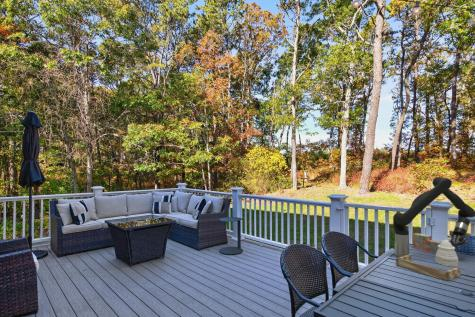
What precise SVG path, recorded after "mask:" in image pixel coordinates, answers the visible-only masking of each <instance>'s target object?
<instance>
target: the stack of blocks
mask: <svg viewBox="0 0 475 317" xmlns="http://www.w3.org/2000/svg"><path fill="white" fill-rule="evenodd" d="M411 235H412V237H411V238H412V239H411V240H412V241H411V242H412V248H413V249H416V250H419V251H423V252H427V251H428V252H427V253H431V252H432V254H434V253H436V252H437V250H438V248H439V247H438V245H440V244H441V242H442V241H439V240H434V239H432V235H430V234H429V235H428V234H423V233H419V232H415V233H411Z"/></svg>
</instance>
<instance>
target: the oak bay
mask: <svg viewBox="0 0 475 317" xmlns="http://www.w3.org/2000/svg"><path fill="white" fill-rule="evenodd" d="M395 262H396V266H397V267H399V268H403V269H407V270H410V271H413V272H416V273H421V274H423V275H427V276H430V277H432V278H436V279H440V280H443V281H446V282H449V281H451V280H454V279H456V278H458V277H461V267H459V266H455V267H454V268H451V269H449V270H443V269H439V268H435V267H431V266H427V265H425V264H421V263H417V262H413V261H412V254H409V255H406V256H402V257H395Z"/></svg>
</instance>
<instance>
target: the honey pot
mask: <svg viewBox="0 0 475 317" xmlns="http://www.w3.org/2000/svg"><path fill="white" fill-rule="evenodd" d="M450 240H452V239H451V238H448V237H446V239H443V240H442V241H440V242H441V244H440V245H438V247H439V248H438V250H437V252H436V254H435V263H436V262H437V264H438V263H439V265H441V264H442V266H446V267H454V268H456V267H459V257H458V255H457V252H456V251H455V250H456V249H455V247H453V246H452V244H451V242H450Z"/></svg>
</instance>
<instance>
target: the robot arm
mask: <svg viewBox="0 0 475 317" xmlns="http://www.w3.org/2000/svg"><path fill="white" fill-rule="evenodd" d="M431 183H432V186H433V188H430V189H429V190H426V191H424V192H422V193H420V194H419V195H418V196H416V197H415V199H414V200H413V201H412V203H411V205H410V207H409V208H408V209H407V210H406V211H405V212H403V213H402V212H396V213H395V214H393V218H392V222H393V223H392V224H393V231H394V240H395V241H394V255H395V257H396V258H399V257H402V256H406V255H410V233H409V230H408V228H407V227H406V226H409V225H410V224H411V223H412V222H413V220H414V219H415V218H416V217H417V216H418V215H419V214H420V213H422V212H423V210H425V209H426V208H427V207H428V206H429V205H431V204H432V203H433V202H434V201H435V200H436V199H437V198H439V197H440V196H441V195H444V197H446V198H447V200H448V201H449V202H450V203H451V204H452V205H453V207H454V208H456V209H457V210H458V212H457V214H458V215H457V218H458V219H457V222H456V224H455V225H454V229H453V231H452V234H451V235H447V236H446V238H451V240H450V241H449V242H450V243H451V245H452V246H453V247H455V249H454V250H456V249H458V246H464V245H465V244H466V243H468V242H469V240H468V239H467V238H466V236H467V233H468V230H469V226H470V224H471V220H470V219H471V218H475V209H474V208H473V207H471V206H470V205H469V204H467V203H465V201H464V200H463V199H462V198H461V197H460V196H459V195H458V194H456V193H455V192H454V191H453V190H452V189H450V188H451V187H452V183H453V181H452V180H451V178H448V177H441V176H436V177H434V178H433V180H432V182H431ZM469 218H470V219H469Z"/></svg>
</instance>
